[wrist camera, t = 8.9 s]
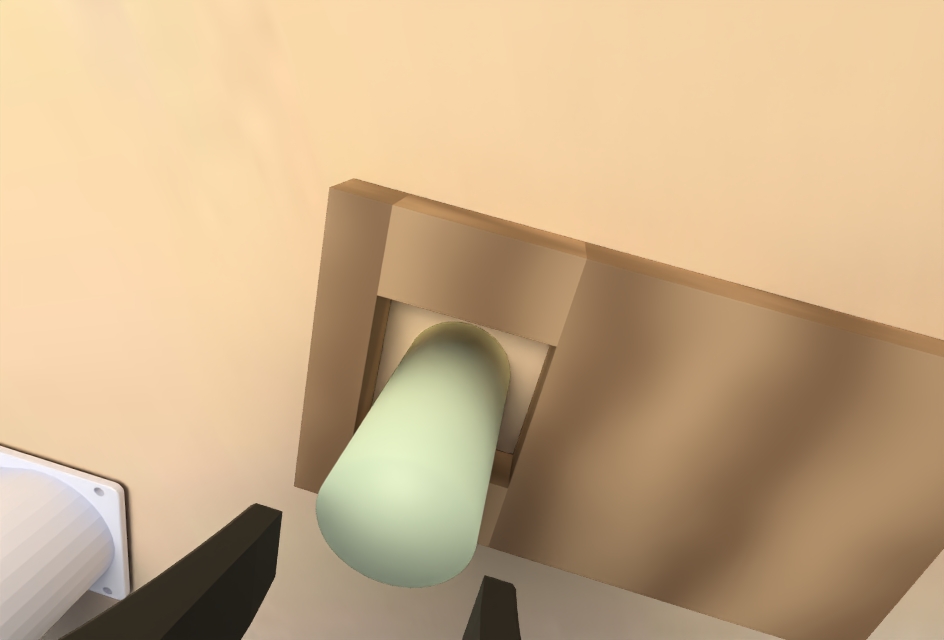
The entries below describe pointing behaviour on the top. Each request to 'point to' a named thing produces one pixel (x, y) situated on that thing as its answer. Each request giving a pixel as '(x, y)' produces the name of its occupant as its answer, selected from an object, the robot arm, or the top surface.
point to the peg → (420, 462)
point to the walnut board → (656, 416)
